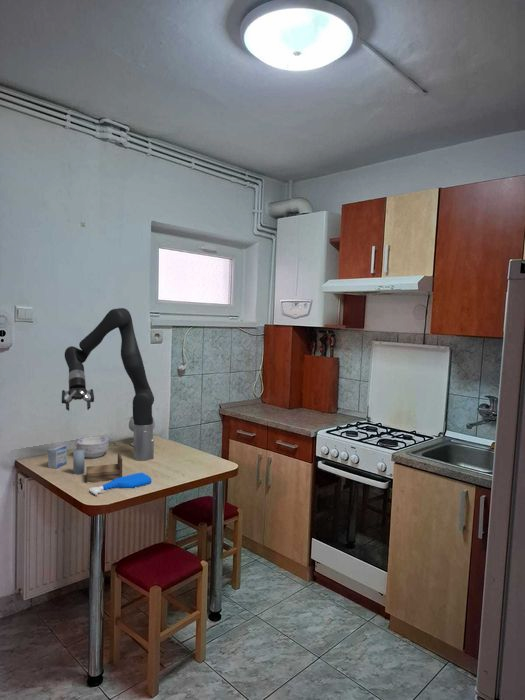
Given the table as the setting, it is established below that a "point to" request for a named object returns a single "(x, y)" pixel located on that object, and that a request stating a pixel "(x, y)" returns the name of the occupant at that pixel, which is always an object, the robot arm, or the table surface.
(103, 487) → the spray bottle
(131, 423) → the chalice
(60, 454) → the medicine box
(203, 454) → the table surface
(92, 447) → the paper bowls
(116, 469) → the shelf step
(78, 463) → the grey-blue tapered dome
